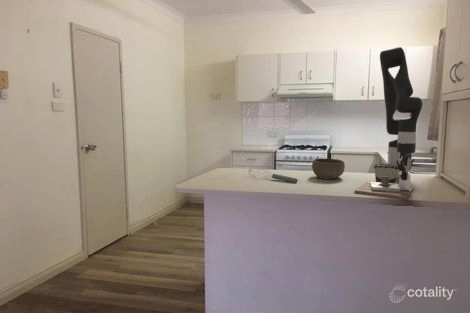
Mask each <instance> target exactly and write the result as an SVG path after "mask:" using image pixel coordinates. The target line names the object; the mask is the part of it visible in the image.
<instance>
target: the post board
mask: <svg viewBox="0 0 470 313" xmlns="http://www.w3.org/2000/svg"><path fill="white" fill-rule="evenodd" d="M388 182H389V177H388V176H382V184H381V186H388ZM414 189H415V188H414V187H413V186H410V190H400V192H392V191H375V190H372V189H371V185H370V182H368V181H367V182H365V183H363V184H362V185H360V186H359V187H357V188H356V189H354V194H359V193H362V195H367V194H371V195H370V196H376V195H379V196H378V197H384V196H388V197H387V198H392V197H398V198H397V199H400V198H407V197H408V196H409V197H410V195H411V194H412V193H413V191H414ZM410 193H411V194H410ZM409 197H408V198H409ZM408 198H407V199H408Z"/></svg>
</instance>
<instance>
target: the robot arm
mask: <svg viewBox="0 0 470 313" xmlns="http://www.w3.org/2000/svg"><path fill="white" fill-rule="evenodd" d="M379 61H380V69H381V75H382V80H383V81H382V83H383V96H384V106H385V117H386V121H385V122H386V123H385V124H386V132H387V134H388V135H390V136H391V135H392V136H393V135H394V136H397V139H395V140H391V141H389V142H388V148H387V149H388V150H387V151H388V152H387V164H394V165H398V168H399V169H398V172H397V178H396V179H399V173H401V172H402V174H401V180H407V178H408V173H409V171H411V169H412V167H413V163H414V162H415V161H414V160H415V159H414V158H412V156H413V155H412V154H414V153H416V147H417V146H416V144H417V124H418V120H419V116H420V113H421V110H422V108H423V101H422V99H421V98H420V97H419V96H418V97H417V96H412V95H413V94H414V89H413V85H412V84H411V80H410V76H409V70H408V63H407V57H406V54H405V50H404V49H403V48H402V47H401V46H397V47H392V48H388V49H384V50H382V51H380V54H379ZM397 67H399V69H398V71H397V73H396V75H395V76H393V75H392V74H391V72H390V71H389V69H392V68H397ZM396 111H397V112H398V113H400V114H409V116H408V117H404V118H401V117H399V118H394V115H395V113H396Z"/></svg>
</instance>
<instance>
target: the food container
mask: <svg viewBox="0 0 470 313" xmlns="http://www.w3.org/2000/svg"><path fill="white" fill-rule="evenodd" d="M373 169H374V176H375V177H374V178H375V182H382V176H388V177H389V182H388V183H397V179H398V178H397V172H398V169H399V168H398V165H394V164H388V163H376V164H374V165H373Z"/></svg>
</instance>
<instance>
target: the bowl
mask: <svg viewBox="0 0 470 313" xmlns="http://www.w3.org/2000/svg"><path fill="white" fill-rule="evenodd" d="M345 166H346V165H345V161H344V160H341V159H336V158H314V159H313V160H312V164H311V167H312V168H311V169H312V171H313V173H314V175H315V176H316V177H317V178H320V179H324V180H333V179H337V178H338V179H339V177H341V176H342V175H343V174H344V171H345Z"/></svg>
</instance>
